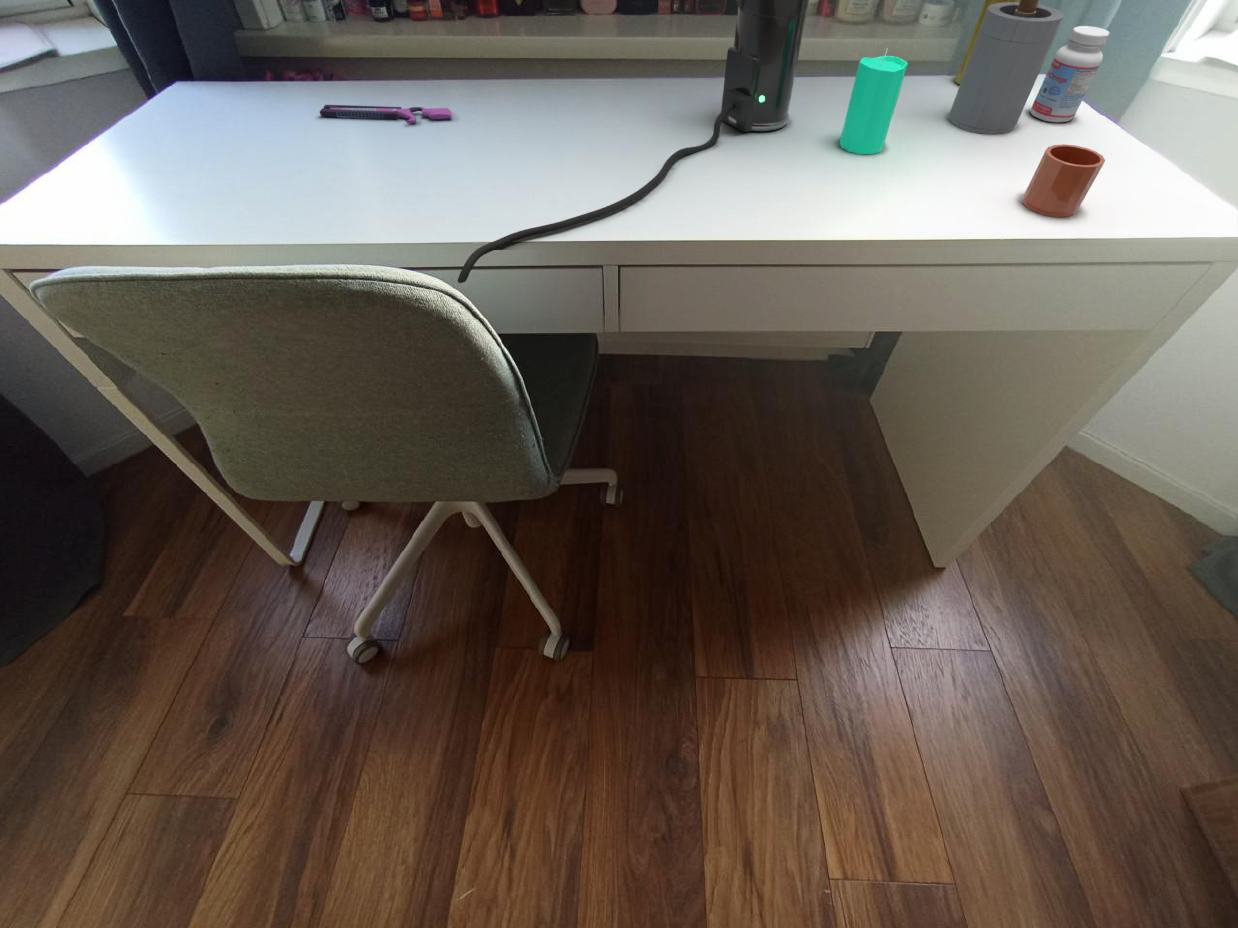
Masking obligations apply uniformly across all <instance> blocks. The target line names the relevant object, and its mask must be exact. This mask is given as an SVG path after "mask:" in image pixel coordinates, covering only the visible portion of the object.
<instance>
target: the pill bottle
mask: <svg viewBox="0 0 1238 928" xmlns="http://www.w3.org/2000/svg"><path fill="white" fill-rule="evenodd" d="M1109 36H1110V31H1108V30H1107V29H1104V28H1102V27H1097V26H1090V25H1079V26H1074V27H1073V29H1072V30H1071V32H1070V34H1069V36H1068V39H1067V41H1068V44H1066V45H1063V46H1062V47H1060V48H1059V49H1058V50H1057V51H1056V53H1055V55H1054V57H1053V59H1052V61H1051V64H1050V65H1049V68H1048V70H1047V73H1046V75H1045V77H1044V79H1043V81H1042V83H1041V86H1040V88H1039V90H1038V91H1037V93H1036V96H1035V99H1034V100H1033V103H1032V105H1031V108H1030V113H1031V115H1032V116H1033V117H1035V118H1037V119H1039V120H1041V121H1045V122H1048V123H1065V122H1069V121H1071V120H1072V119H1073V118H1074V117H1075V116H1076V114H1077V112H1078V110H1079V107H1080V106H1081V104H1082V102H1083V100H1084V98H1085V95H1086V94H1087V92H1088V89H1089V88H1090V86H1091V83H1092V82H1093V80H1094V78H1095V76H1096V74H1097V72H1098V70H1099V68H1100V66H1101V64H1102V62H1103V59H1104V54H1103V51H1101V48H1102V47H1103V46H1105V44H1106V42H1107V40H1108V38H1109Z"/></svg>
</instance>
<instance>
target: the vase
mask: <svg viewBox="0 0 1238 928" xmlns="http://www.w3.org/2000/svg"><path fill="white" fill-rule="evenodd" d="M1020 1H1021V0H985V1H984V3H983V6H982V8H981V11H980V14H979V16H978V18H977V21H976V24H975V27H974V28H973V29H974V30H973V32H972V35H971V37H970V40H969V43H968V45H967V48H966V51H965V53H964V56H963V58H962V62H961V64H960V67H959V70H958V71H957V74H956V76H955V77H954V82H955V83H956V84H957V85H959V86H960V84H961V81H962V78H963V75H964V72H965V70H966V67H967V64H968V61H969V59H970V56H971V53H972V50H973V48H974V45H975V42H976V39H977V36H978V34H979V31H980V28H981V25H982V23H983V20H984V17H985V14H986V11H987V9H988V7H989V6H990V5H992V4H997V3H1005V2H1019V3H1020Z"/></svg>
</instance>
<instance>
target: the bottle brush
mask: <svg viewBox="0 0 1238 928" xmlns="http://www.w3.org/2000/svg"><path fill="white" fill-rule="evenodd" d="M1039 2H1040V0H1021V1H1020V3H1019V6H1018V8H1017V9H1016V10H1015V12H1014V14H1013V16H1018V17H1025V18H1034V16H1035V14H1036V11H1035V10H1036V7H1037V5H1039Z"/></svg>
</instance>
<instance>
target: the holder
mask: <svg viewBox="0 0 1238 928" xmlns="http://www.w3.org/2000/svg"><path fill="white" fill-rule="evenodd" d="M1105 162H1106V159H1105V157H1104V156H1103V155H1102V154H1101V153H1099V152H1098V151H1095V150H1093V149H1090V148H1088V147H1084V146H1079V145H1076V144H1066V143H1065V144H1063V143H1062V144H1053V145H1051V146H1048V147H1047V148H1046V149H1045V151H1044V153H1043V155H1042V157H1041V159H1040V162H1039V163H1038V165H1037V167H1036V169H1035V171H1034V173H1033V176H1032V177H1031V179H1030V182H1029V183H1028V186H1027V187H1026V190H1025V191H1024V194H1023V197H1022V199H1021V200H1022V202H1021V203H1022V204H1023V206H1025V207H1026V208H1027V209H1029V210H1030V211H1032V212H1035V213H1037V214H1039V215H1043V216H1047V217H1051V218H1068V217H1072V216H1074V215H1075V214H1077V213H1078V210H1079V209H1080V207H1081V205H1082V203H1083V202H1084V200H1085V198H1086V196H1087V194H1088V192H1090V189H1091V187H1092V186H1093V184H1094V182H1095V180H1096V179H1097V176H1098V175H1099V173H1100V171H1101V169H1102V168H1103V166H1104V164H1105Z"/></svg>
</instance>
